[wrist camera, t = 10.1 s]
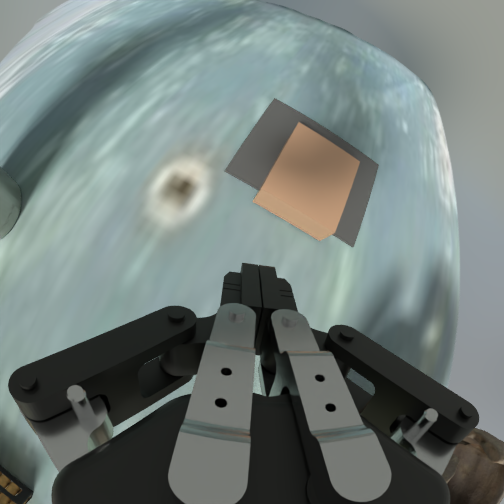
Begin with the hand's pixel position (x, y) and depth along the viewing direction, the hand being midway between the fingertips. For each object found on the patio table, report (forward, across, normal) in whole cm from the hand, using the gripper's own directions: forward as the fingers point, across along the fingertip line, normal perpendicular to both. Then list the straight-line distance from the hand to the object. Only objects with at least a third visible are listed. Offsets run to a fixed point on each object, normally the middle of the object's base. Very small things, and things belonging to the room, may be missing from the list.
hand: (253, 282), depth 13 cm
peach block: (+21, -6, +2) cm, 22 cm away
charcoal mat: (+29, -9, -4) cm, 31 cm away
